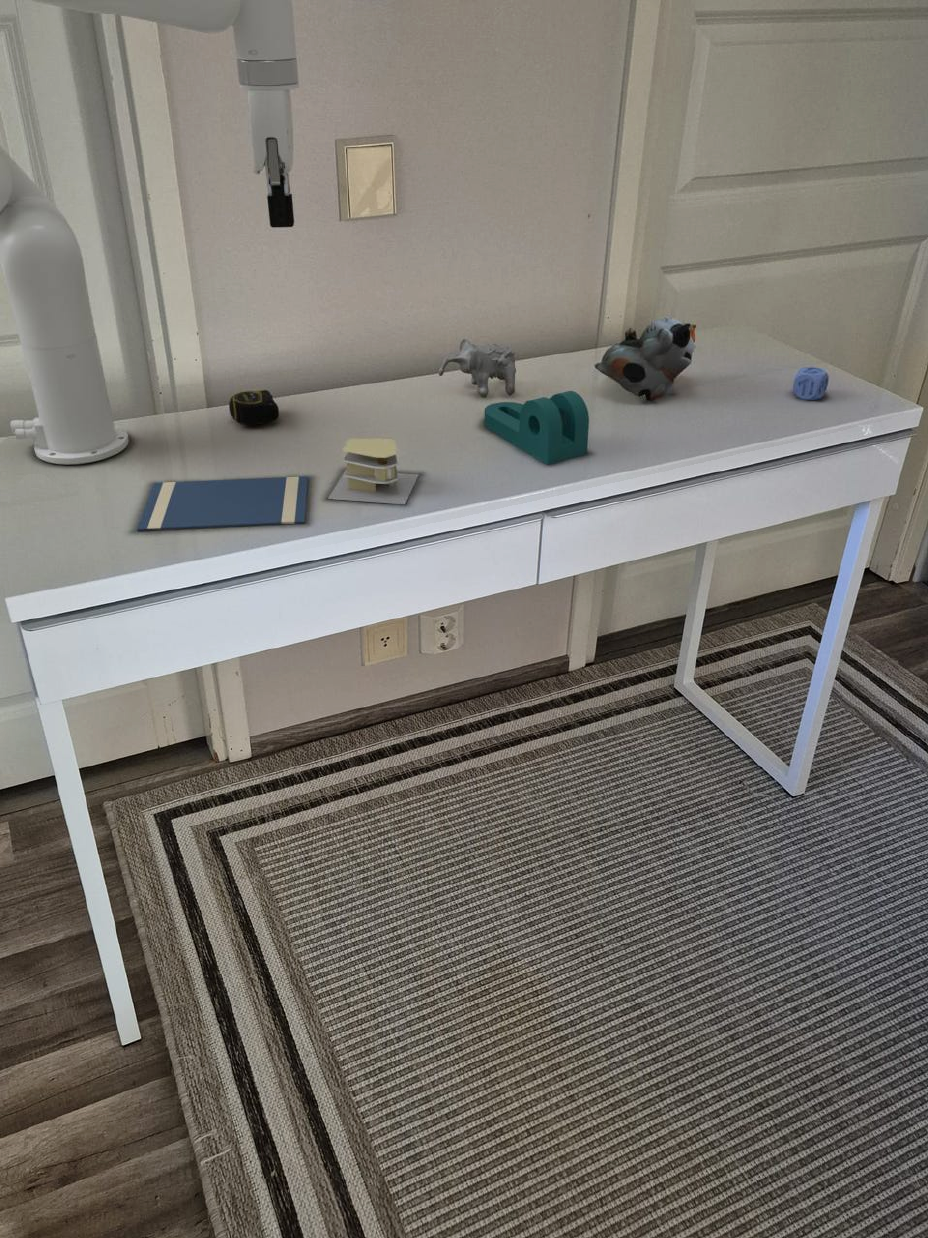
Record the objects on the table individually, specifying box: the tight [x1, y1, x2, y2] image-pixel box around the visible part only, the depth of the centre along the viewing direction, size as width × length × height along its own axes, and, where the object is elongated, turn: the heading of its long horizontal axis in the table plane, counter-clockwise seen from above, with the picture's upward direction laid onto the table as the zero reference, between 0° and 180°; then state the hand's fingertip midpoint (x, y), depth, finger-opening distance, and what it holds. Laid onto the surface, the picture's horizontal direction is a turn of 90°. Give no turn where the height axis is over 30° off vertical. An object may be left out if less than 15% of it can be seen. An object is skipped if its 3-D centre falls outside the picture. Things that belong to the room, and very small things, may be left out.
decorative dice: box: [792, 366, 830, 401], centre depth 160 cm, size 4×4×4 cm
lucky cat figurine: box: [594, 317, 697, 402], centre depth 160 cm, size 15×12×14 cm
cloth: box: [136, 475, 309, 532], centre depth 130 cm, size 20×13×1 cm, turn 95°
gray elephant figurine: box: [438, 338, 517, 398], centre depth 161 cm, size 9×12×8 cm
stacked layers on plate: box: [327, 438, 419, 505], centre depth 132 cm, size 10×9×6 cm
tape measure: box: [228, 389, 280, 426], centre depth 152 cm, size 7×7×4 cm
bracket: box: [483, 390, 590, 465], centre depth 145 cm, size 18×7×8 cm, turn 32°
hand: (282, 225), depth 141 cm, fingers closed
